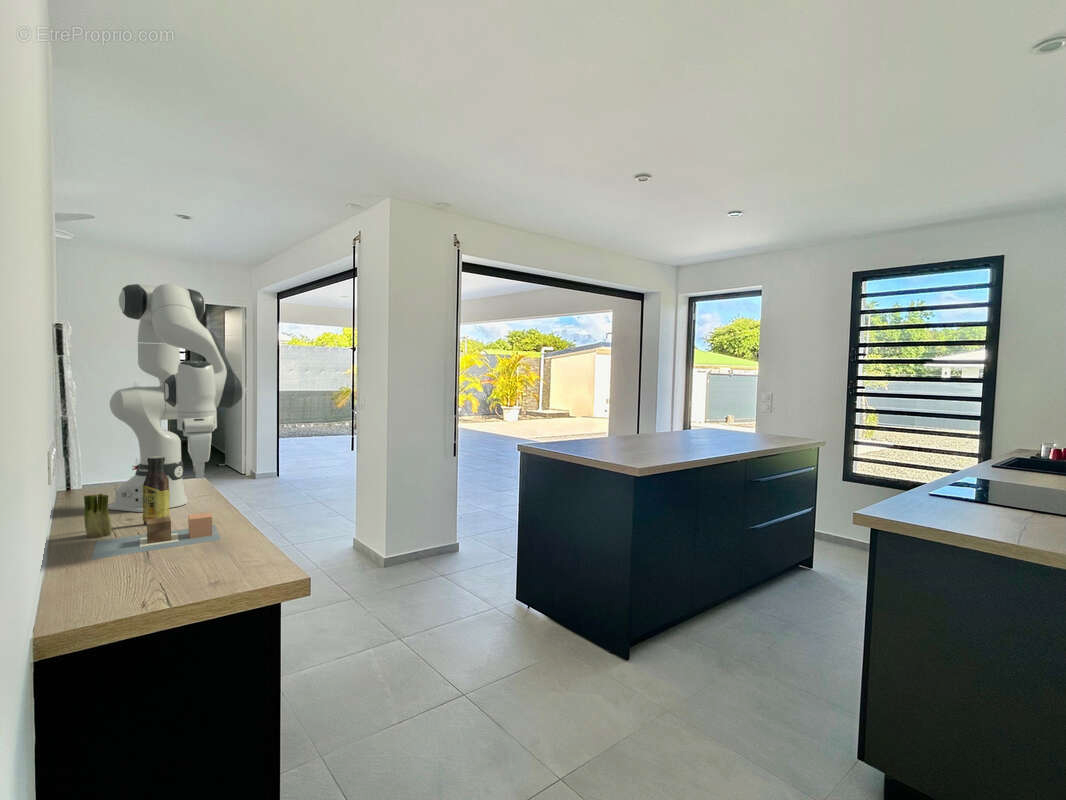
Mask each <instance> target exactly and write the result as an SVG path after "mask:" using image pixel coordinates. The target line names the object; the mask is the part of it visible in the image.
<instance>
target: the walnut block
mask: <svg viewBox="0 0 1066 800" xmlns="http://www.w3.org/2000/svg"><path fill="white" fill-rule="evenodd" d="M171 531H172V520H171V516H169V517H164V518H155V519H147V525H146V534H147V544H150V543H157V542H164V541H171Z"/></svg>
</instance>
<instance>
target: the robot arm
mask: <svg viewBox="0 0 1066 800" xmlns="http://www.w3.org/2000/svg"><path fill="white" fill-rule="evenodd" d="M118 304H119V305H118V306H119V308H120V310H121V312H122V314H123V315H124V316H125V317H126V318H129V319H133V320H137V321H139V322H138V330H137V365H138V367H139V369H140V370H141V371H142V372H144V373H146V374H148V375H150V376H152V377H155V378H157V379H158V380H159V383H160V385H159V386H132V387H126V388H121V389H117V390H116V391H114V393H113V394H112V396H111V398H110V400H109V408H110V411H111V413H112V415H113V416H114V417H115V418H117V419H118V420H119V421H122V423H124V424H125V425H128V427H129V428H131V430H132V431H133V433H134V435H135V437H136V438H137V442H138V447H139V457H140V458H139V460H140V463H138V464H137V465H134V466H132V469H131V470H132V471H135V470H136V471H135V473H134V475H133V476H132V477H130V478H129V479H128V480H127V481H126V482H124V483H123V484H121V485H119V486H118V488H117V489H116V491H115V496H114V501H113V502H109V503H108V510H113V511H114V510H115V511H123V512H136V513H143V484H144V481H145V479H146V476H147V474H148V462H147V460H148V457H150V456H164V457H165V461H164V473H165V475H166V476H167V477H168V479H169V509H171V508H177V507H181V506H184V505H185V504H186V505H187V504H188V503H189V500H188V497H187V494H186V491H185V490H186V489H185V486H184V480H183V479H184V478H183V475H184V462H183V460H182V440H181V438H180V437H179V435H178V434H177V433H174V432H172V431H170V430H167V429H163V428H162V427H161V425H160V421H165V420H167V421H168V420H176V422H177V423H176V426H177V430H178V431H182V433H183V434H182V436H184V437H187V452H188V455H189V457H190V460H191V461H192V470H193V472H194V473H195V478H196V479H203V478H204V477H205V467H206V466H205V465H206V464H205V463H206V462H207V463H208V462H209V460H210V457H211V448H212V447H211V445H212V438H213V436H212V432H214V431H215V430H216V429H217V428H218V418H217V417H218V415H217V414H218V412H217V409H232V408H233V407H234V406H236V405H237V404H238V403H239V402H240V401H241V400H242V398H243V385H242V383H241V380H240V379H239V377H238V375H236V373H235V371H234V370H233V368H232V366H231V365H230V362H229V360H228V358H227V355H226V354H225V352H224V350H223V348H222V346H221V344H220V342H219V339H218V338H217V336H216V335H215V334H214V332H213V331H211V330H209V329H208V328H206V327H205V326H204V325H203V324H202V323H201V322H200V320H202V318H204V317H203V316H204V315H205V314H204V313H205V311H206V303H205V299H204V296H203V294H201V292H199V291H197V290H194V289H190V288H183V287H181V286H180V285H178V284H174V283H164V284H163V283H162V284H160V285H151V284H150V285H148V284H147V285H146V284H145V285H143V284H142V285H141V284H127V285H125V286H124V287H123V288H121V292H120V294H119V297H118ZM180 349H183V350H186V351H190V352H194V353H196V354H199V355H201V356H202V357H204V358H205V360H206V361H205V360H196V359H193V360H192V359H191V360H189V359H188V360H183V361H181V357H180V355H181V354H180Z"/></svg>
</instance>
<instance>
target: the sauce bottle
mask: <svg viewBox="0 0 1066 800" xmlns="http://www.w3.org/2000/svg"><path fill="white" fill-rule="evenodd" d="M164 461H165V457H164V456H150V457H148V460H147V462H148V474H147V476H146V479H145V481H144V484H143V512H142V521H143V523H142V524H143V525H146V526H147V519H155V518H164V517H170V508H169V479H168V477H167V476H166V475H165V473H164Z"/></svg>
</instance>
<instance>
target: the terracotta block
mask: <svg viewBox="0 0 1066 800" xmlns="http://www.w3.org/2000/svg"><path fill="white" fill-rule="evenodd" d="M212 525H213V516H212V513H211V512H204V513H196V514H189V515H188V529H189V537H190V539H191V538H198V537H205V536H211V535H212Z"/></svg>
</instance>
